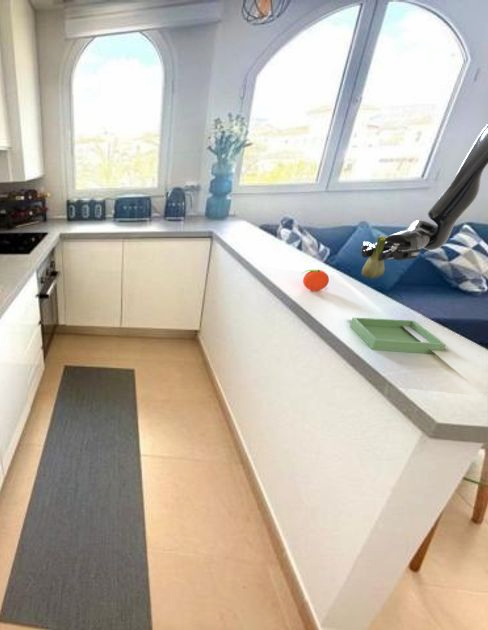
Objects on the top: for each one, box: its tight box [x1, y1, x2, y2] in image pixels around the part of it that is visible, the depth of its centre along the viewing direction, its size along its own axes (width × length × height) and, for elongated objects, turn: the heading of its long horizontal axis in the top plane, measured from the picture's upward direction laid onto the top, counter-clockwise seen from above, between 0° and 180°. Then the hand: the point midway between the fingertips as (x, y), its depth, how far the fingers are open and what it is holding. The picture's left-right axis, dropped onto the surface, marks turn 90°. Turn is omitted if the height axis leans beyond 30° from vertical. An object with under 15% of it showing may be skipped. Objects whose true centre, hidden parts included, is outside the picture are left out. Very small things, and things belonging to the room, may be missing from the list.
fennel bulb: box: [361, 235, 387, 279], centre depth 98 cm, size 6×5×12 cm
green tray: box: [349, 316, 447, 355], centre depth 84 cm, size 13×12×3 cm
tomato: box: [302, 269, 330, 292], centre depth 113 cm, size 8×7×7 cm
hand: (372, 255), depth 97 cm, fingers closed on fennel bulb, 3 cm apart
